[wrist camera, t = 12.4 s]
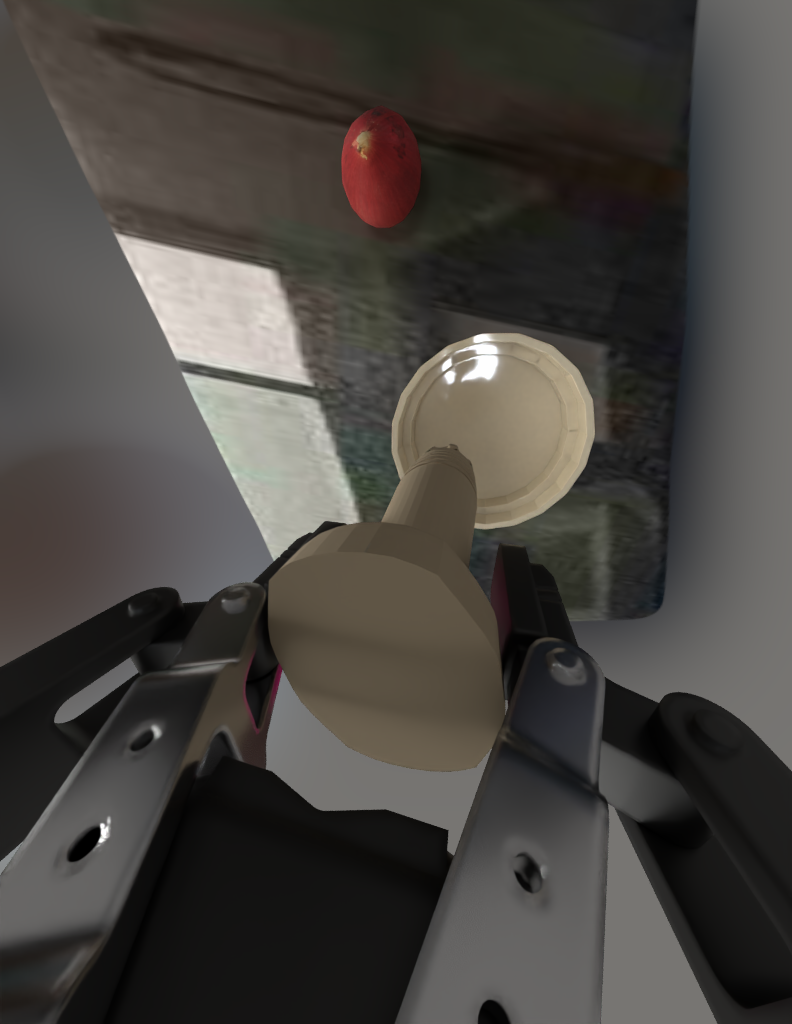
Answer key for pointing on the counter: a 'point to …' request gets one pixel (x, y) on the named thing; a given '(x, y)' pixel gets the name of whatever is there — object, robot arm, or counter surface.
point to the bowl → (500, 421)
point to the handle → (397, 626)
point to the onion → (381, 167)
